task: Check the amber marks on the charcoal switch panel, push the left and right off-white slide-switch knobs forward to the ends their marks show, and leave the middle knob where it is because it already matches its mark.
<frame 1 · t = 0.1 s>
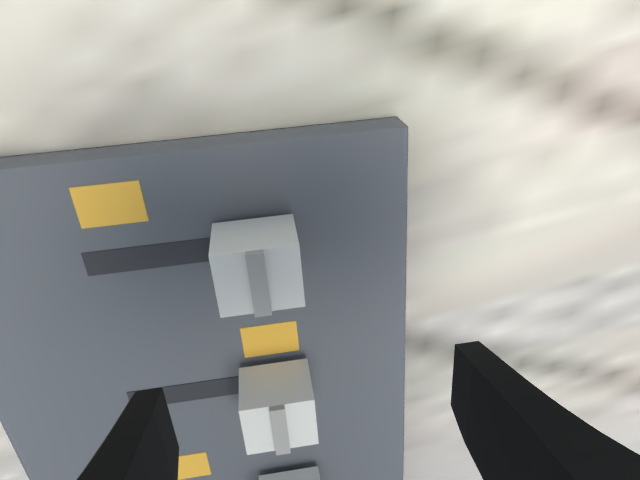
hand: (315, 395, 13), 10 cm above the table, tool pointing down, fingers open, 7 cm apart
switch 2: (278, 407, 22), point 3 cm above the table, slide at 0.0 cm
switch 3: (257, 265, 19), point 3 cm above the table, slide at 0.0 cm
switch panel: (210, 366, 24), on the table
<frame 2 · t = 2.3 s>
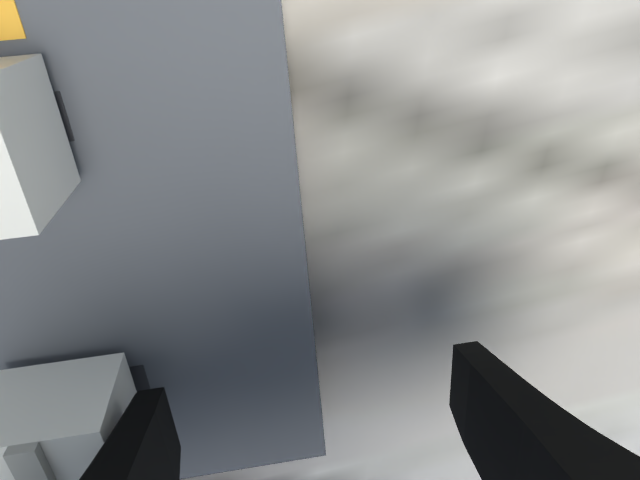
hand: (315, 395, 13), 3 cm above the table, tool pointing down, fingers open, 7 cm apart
switch 1: (59, 442, 12), point 3 cm above the table, slide at 0.2 cm, touching gripper
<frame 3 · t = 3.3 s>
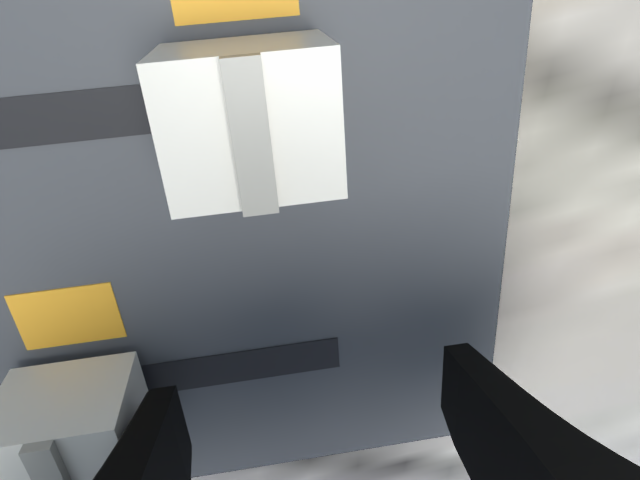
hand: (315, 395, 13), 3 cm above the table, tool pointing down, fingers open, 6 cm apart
switch 2: (250, 119, 9), point 3 cm above the table, slide at 0.0 cm
switch 1: (72, 440, 12), point 3 cm above the table, slide at 5.1 cm, touching gripper
switch panel: (116, 98, 12), on the table
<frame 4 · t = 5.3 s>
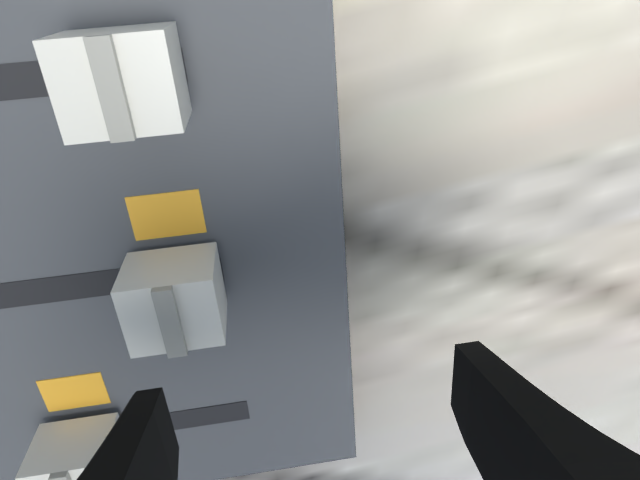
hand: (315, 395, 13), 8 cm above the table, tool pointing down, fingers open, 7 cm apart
switch 2: (174, 300, 17), point 3 cm above the table, slide at 0.0 cm
switch 1: (78, 468, 20), point 3 cm above the table, slide at 5.0 cm
switch 3: (121, 81, 14), point 3 cm above the table, slide at 0.0 cm
switch panel: (104, 263, 19), on the table
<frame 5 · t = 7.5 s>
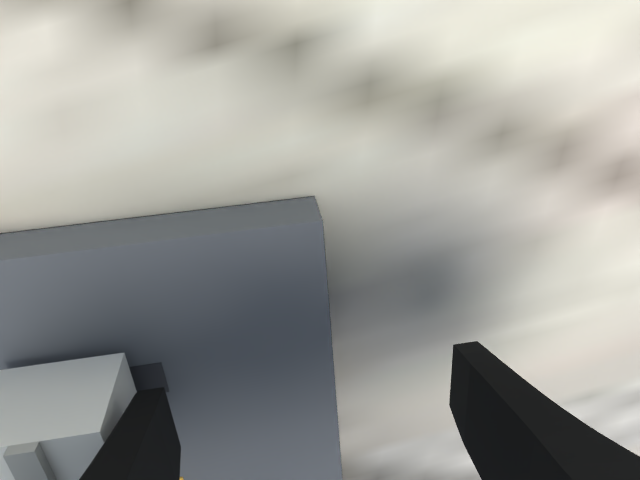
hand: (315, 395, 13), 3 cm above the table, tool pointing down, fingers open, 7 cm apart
switch 3: (59, 442, 12), point 3 cm above the table, slide at 0.7 cm, touching gripper
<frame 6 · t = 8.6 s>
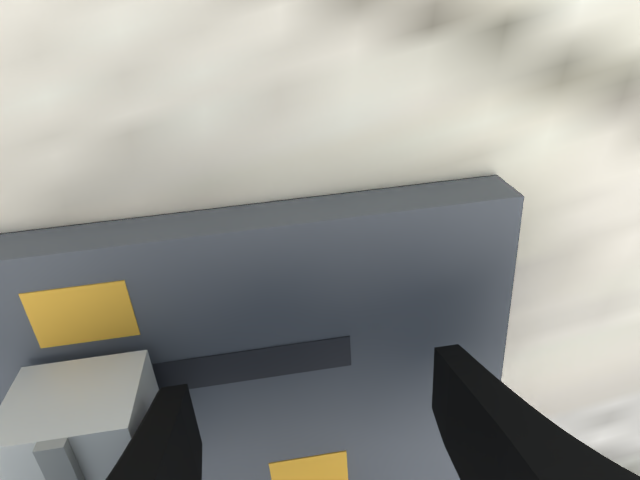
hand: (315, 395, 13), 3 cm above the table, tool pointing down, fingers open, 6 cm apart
switch 3: (84, 438, 12), point 3 cm above the table, slide at 5.1 cm, touching gripper
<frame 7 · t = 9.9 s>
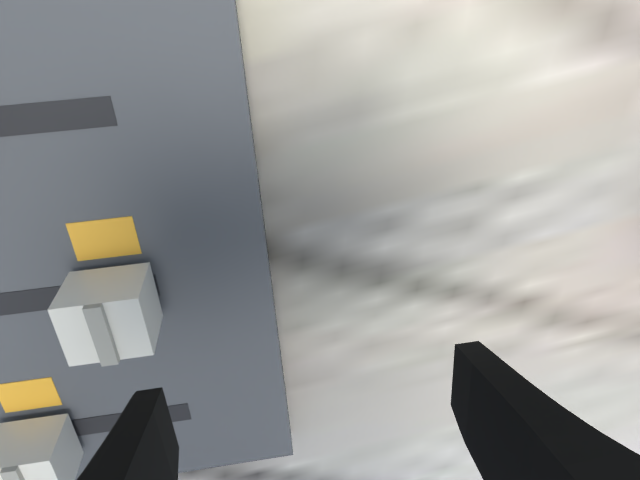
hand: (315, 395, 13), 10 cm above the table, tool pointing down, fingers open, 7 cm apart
switch 2: (109, 314, 19), point 3 cm above the table, slide at 0.0 cm
switch 1: (30, 464, 22), point 3 cm above the table, slide at 5.0 cm
switch panel: (53, 279, 22), on the table
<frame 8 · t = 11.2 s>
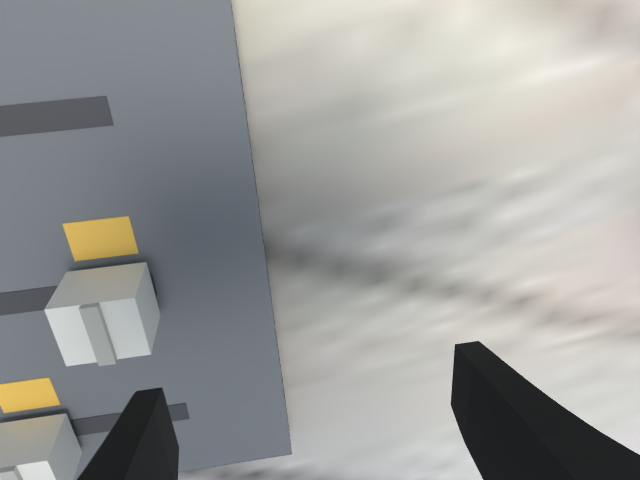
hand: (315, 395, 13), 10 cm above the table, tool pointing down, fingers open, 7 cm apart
switch 2: (107, 314, 19), point 3 cm above the table, slide at 0.0 cm
switch 1: (28, 464, 22), point 3 cm above the table, slide at 5.0 cm
switch panel: (51, 279, 22), on the table
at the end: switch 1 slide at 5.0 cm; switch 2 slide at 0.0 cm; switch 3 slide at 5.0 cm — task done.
